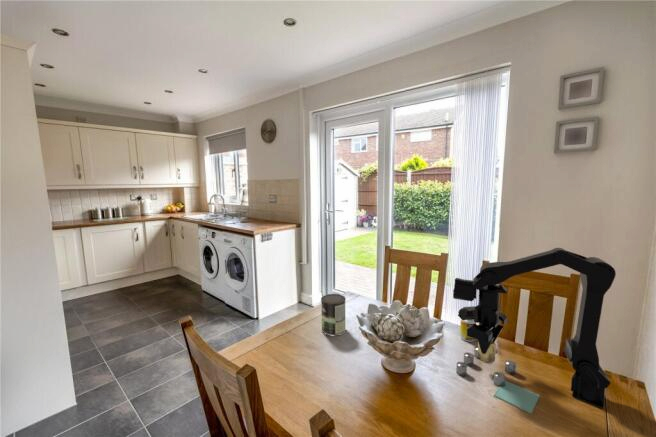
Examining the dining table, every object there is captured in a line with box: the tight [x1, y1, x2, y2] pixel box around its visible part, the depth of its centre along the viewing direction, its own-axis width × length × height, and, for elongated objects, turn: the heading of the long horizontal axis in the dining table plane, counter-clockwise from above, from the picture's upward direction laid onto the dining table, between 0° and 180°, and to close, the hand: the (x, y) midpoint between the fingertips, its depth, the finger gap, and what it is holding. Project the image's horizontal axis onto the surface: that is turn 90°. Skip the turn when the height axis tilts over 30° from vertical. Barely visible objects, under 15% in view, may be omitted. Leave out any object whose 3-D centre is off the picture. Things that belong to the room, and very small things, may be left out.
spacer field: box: [455, 345, 517, 388], centre depth 92 cm, size 14×16×3 cm
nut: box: [477, 341, 497, 363], centre depth 92 cm, size 5×5×5 cm
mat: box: [493, 380, 541, 415], centre depth 81 cm, size 9×9×1 cm
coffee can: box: [320, 293, 346, 336], centre depth 120 cm, size 10×10×14 cm
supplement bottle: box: [459, 318, 477, 343], centre depth 111 cm, size 6×6×10 cm
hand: (486, 350), depth 92 cm, fingers closed on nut, 5 cm apart
